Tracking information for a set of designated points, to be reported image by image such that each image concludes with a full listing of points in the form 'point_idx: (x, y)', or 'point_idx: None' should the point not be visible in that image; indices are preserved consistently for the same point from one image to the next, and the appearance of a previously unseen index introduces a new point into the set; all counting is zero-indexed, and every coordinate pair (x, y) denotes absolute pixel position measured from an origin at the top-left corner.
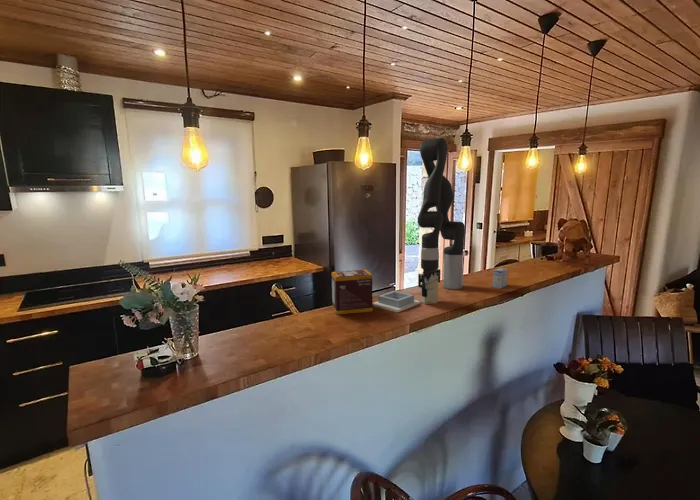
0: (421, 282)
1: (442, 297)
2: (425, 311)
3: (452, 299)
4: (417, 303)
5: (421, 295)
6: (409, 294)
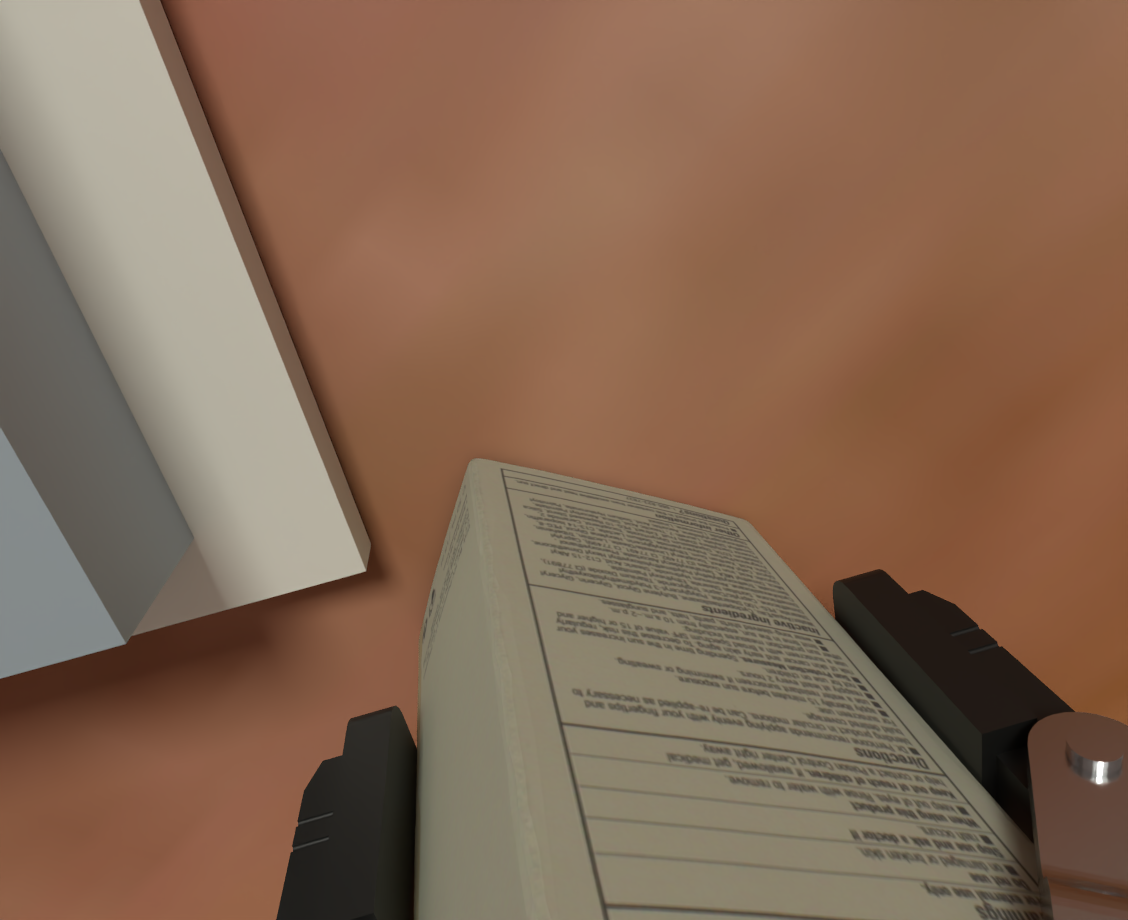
0: (510, 875)
1: (1059, 458)
2: (158, 907)
3: (1055, 641)
4: (254, 588)
5: (470, 553)
6: (12, 512)
